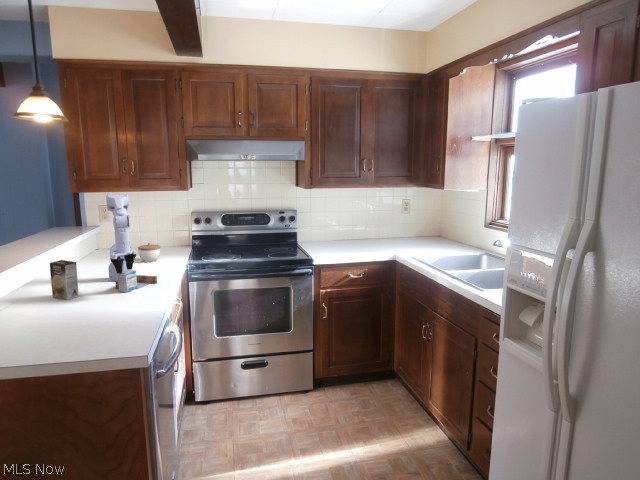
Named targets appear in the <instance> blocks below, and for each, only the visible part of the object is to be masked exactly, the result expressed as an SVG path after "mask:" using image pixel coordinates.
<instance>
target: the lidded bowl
mask: <svg viewBox="0 0 640 480" xmlns="http://www.w3.org/2000/svg"><path fill="white" fill-rule="evenodd" d="M137 248H138V256H139V257H140V260H142V261H143V262H144V263H153V262H154V261H155V262H157V260H158V259H159V258H160V256H161V245H159V244H151V243H150V242H149V243H147V244H142V245H139V246H137Z"/></svg>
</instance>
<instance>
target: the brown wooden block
mask: <svg viewBox="0 0 640 480" xmlns="http://www.w3.org/2000/svg"><path fill="white" fill-rule="evenodd" d="M136 277H137V282H142V283H150V284H151V285H153V284H154V285H157V284H158V276H157V275H146V274H145V275H144V274H142V275H141V274H136ZM115 289H116V290H119V284H118V281H115Z"/></svg>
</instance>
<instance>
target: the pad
mask: <svg viewBox="0 0 640 480" xmlns="http://www.w3.org/2000/svg"><path fill="white" fill-rule="evenodd" d="M149 284H151V283H142V282H137V288H135V290H138V289H142V288H143V287H145V286H148V285H149Z"/></svg>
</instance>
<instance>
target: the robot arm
mask: <svg viewBox="0 0 640 480" xmlns="http://www.w3.org/2000/svg"><path fill="white" fill-rule="evenodd" d="M105 196H106V197H105V198H106V199H105V200H106V209H107V210H108V211H109V212H111V213H112V217H113V218H112V223H113V224H112V225H113V229H114V238H115V239H114V242H115V243H114V244H113V245H111V247H110V248H109V257H110V258H109V259H110V263H109V264H108V281H112V282H116V281H118V274H122V272H125V271H127V270H133V266H134V262H135V259H136V257H137V253H136V249H135V248H131V244H130V243H131V241H130V224H131V221H130V216H129V215H128V209H129V206H130V203H129V202H130V201H129V195H128V194H127V193H125V194H117V193H116V194H106V195H105Z"/></svg>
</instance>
